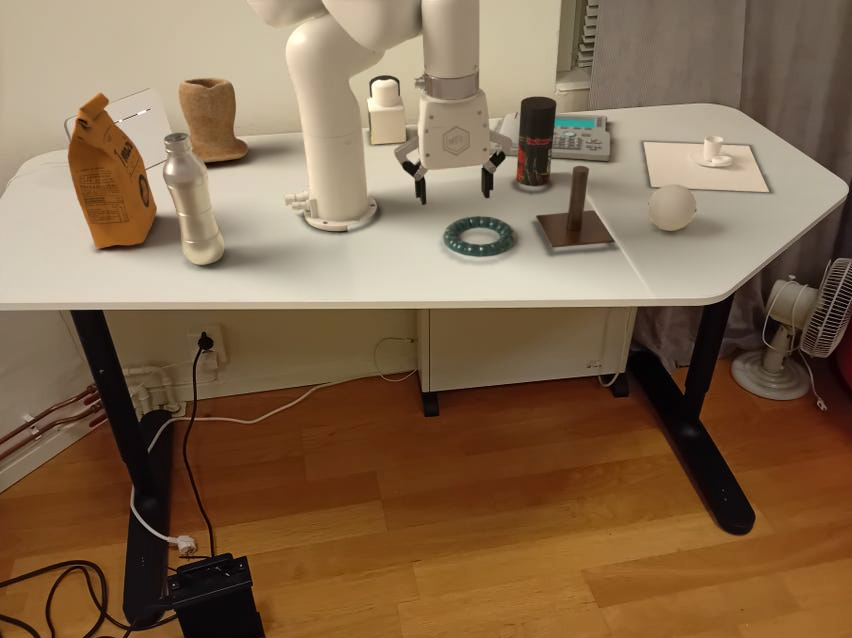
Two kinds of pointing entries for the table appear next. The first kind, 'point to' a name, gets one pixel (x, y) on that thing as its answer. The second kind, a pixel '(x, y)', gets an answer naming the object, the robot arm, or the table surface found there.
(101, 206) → the coffee package
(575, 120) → the office telephone
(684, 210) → the beige ovoid
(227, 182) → the table surface
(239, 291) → the table surface
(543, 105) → the deodorant
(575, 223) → the post
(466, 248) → the ring
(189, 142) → the plastic bottle
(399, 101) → the medicine bottle
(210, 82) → the tan upright hollow piece
